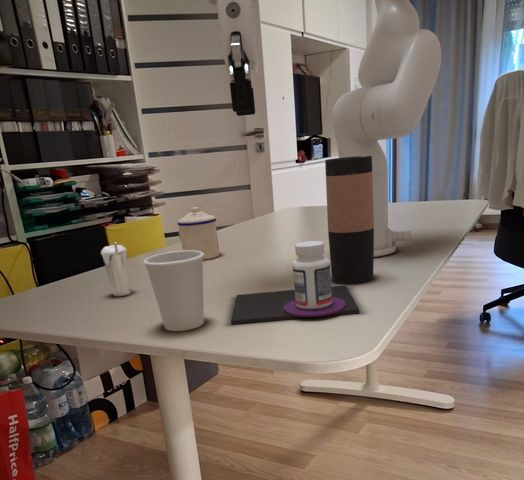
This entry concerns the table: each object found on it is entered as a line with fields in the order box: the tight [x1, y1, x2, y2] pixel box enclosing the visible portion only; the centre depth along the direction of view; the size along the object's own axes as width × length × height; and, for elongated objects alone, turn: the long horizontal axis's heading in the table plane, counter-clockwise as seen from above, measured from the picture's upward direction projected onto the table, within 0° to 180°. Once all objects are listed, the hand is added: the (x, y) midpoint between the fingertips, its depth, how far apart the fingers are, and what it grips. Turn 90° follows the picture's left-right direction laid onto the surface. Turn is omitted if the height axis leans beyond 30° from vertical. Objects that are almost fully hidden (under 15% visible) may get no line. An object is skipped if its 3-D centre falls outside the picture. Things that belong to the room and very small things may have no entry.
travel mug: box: [324, 156, 375, 285], centre depth 88 cm, size 8×8×20 cm
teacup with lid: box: [177, 206, 220, 261], centre depth 124 cm, size 12×9×12 cm
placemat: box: [230, 284, 360, 325], centre depth 79 cm, size 18×16×1 cm
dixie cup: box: [143, 250, 205, 332], centre depth 74 cm, size 8×8×10 cm
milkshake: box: [100, 241, 132, 297], centre depth 95 cm, size 4×5×10 cm
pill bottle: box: [292, 240, 332, 310], centre depth 74 cm, size 5×5×9 cm
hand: (244, 113), depth 84 cm, fingers open, 9 cm apart
